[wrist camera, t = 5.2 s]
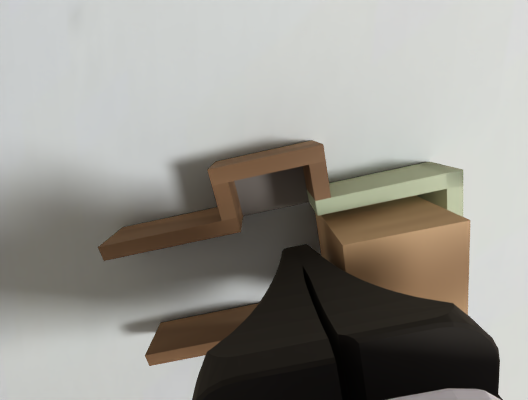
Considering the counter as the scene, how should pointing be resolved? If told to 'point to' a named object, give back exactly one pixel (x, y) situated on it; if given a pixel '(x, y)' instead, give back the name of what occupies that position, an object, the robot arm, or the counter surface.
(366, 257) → the oak block
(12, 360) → the counter surface
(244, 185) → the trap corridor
